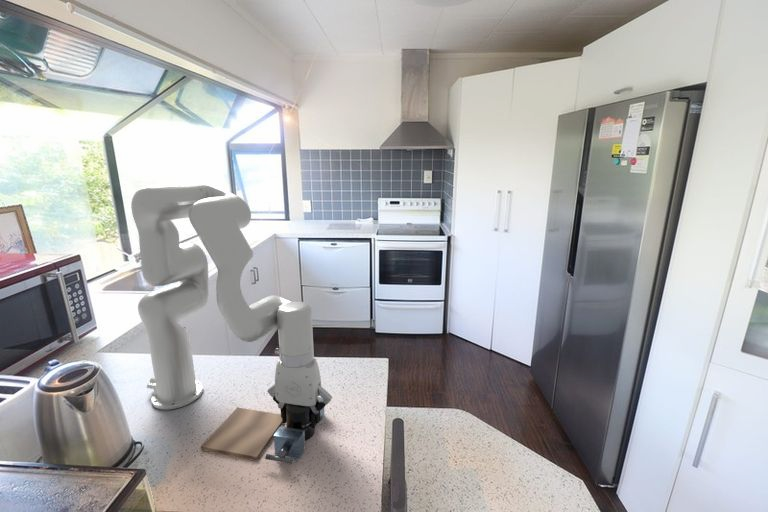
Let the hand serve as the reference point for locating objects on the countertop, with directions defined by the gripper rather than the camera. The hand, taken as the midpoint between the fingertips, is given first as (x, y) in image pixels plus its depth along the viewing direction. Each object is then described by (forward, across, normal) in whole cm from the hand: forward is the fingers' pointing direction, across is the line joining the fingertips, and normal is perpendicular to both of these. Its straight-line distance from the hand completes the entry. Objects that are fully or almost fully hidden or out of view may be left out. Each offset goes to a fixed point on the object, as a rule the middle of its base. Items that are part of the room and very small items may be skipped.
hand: (300, 421), depth 87 cm
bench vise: (+3, 0, -2) cm, 4 cm away
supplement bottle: (+4, 0, 0) cm, 4 cm away
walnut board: (+3, -13, -3) cm, 14 cm away
